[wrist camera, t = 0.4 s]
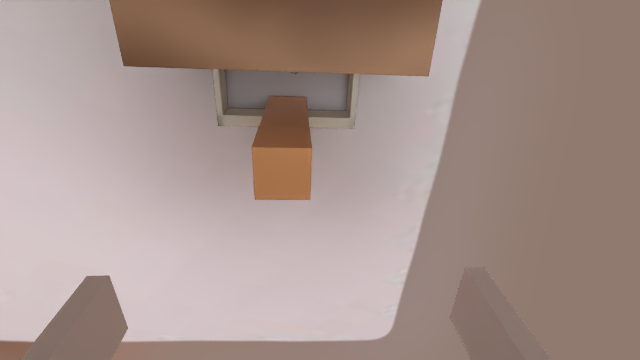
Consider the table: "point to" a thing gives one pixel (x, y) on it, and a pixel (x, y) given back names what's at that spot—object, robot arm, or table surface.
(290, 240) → the table surface
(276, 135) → the sled
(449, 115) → the table surface
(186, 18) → the tunnel
